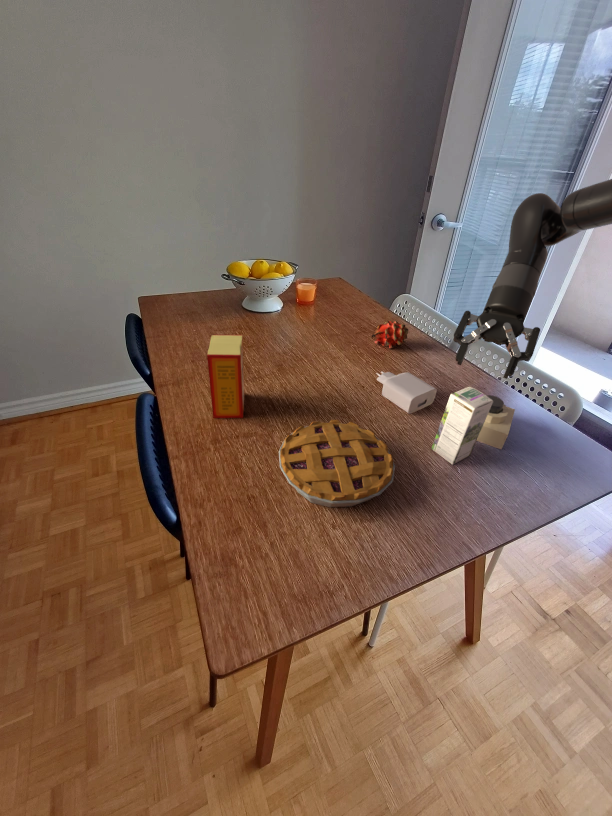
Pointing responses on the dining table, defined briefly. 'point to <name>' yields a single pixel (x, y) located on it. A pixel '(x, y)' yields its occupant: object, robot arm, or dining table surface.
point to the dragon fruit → (390, 334)
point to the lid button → (496, 405)
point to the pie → (336, 463)
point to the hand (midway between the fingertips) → (481, 370)
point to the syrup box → (461, 424)
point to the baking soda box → (226, 375)
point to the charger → (407, 391)
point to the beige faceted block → (496, 428)
